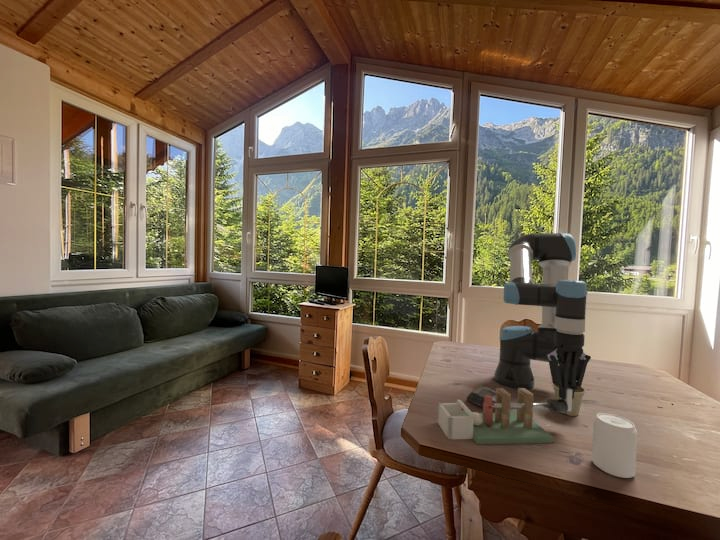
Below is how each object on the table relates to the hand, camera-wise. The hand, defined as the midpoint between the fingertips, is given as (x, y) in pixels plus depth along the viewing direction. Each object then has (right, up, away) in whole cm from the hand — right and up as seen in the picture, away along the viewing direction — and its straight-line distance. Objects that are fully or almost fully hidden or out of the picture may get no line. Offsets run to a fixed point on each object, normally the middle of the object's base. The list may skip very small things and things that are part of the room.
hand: (565, 409), depth 92 cm
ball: (-28, -2, -2) cm, 28 cm away
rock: (-17, -6, +15) cm, 23 cm away
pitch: (-20, -5, -2) cm, 21 cm away
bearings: (-17, -4, -1) cm, 17 cm away
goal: (-35, -5, -3) cm, 35 cm away
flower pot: (+8, -6, +11) cm, 15 cm away
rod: (-13, -4, -1) cm, 14 cm away
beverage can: (-1, -7, -18) cm, 19 cm away
